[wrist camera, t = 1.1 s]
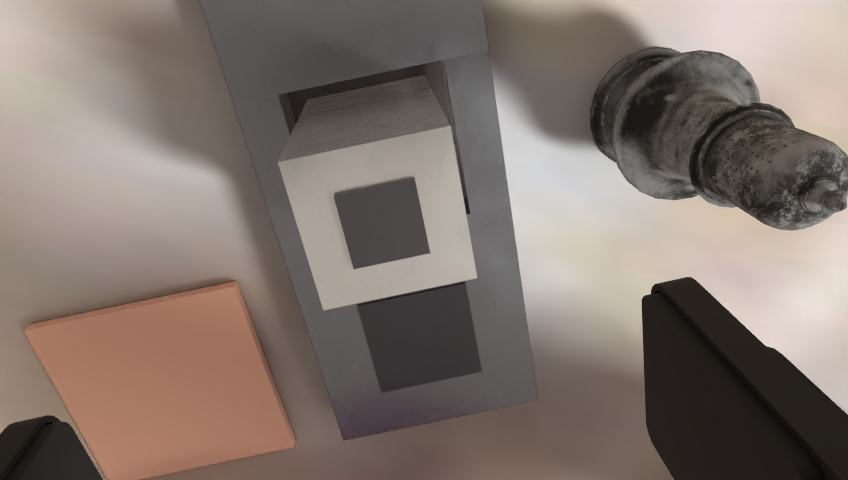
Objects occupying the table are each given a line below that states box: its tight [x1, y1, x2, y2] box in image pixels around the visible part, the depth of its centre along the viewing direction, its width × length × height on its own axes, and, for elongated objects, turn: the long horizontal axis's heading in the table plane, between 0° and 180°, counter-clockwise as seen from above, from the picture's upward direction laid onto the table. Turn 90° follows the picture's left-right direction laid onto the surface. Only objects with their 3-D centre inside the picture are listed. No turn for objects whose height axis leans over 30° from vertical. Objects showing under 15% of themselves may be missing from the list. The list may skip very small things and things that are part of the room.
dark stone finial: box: [590, 48, 848, 230], centre depth 21 cm, size 6×6×12 cm
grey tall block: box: [278, 75, 477, 310], centre depth 22 cm, size 5×5×9 cm
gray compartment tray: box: [200, 0, 538, 440], centre depth 26 cm, size 24×10×2 cm, turn 11°
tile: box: [23, 281, 296, 480], centre depth 30 cm, size 10×10×1 cm
